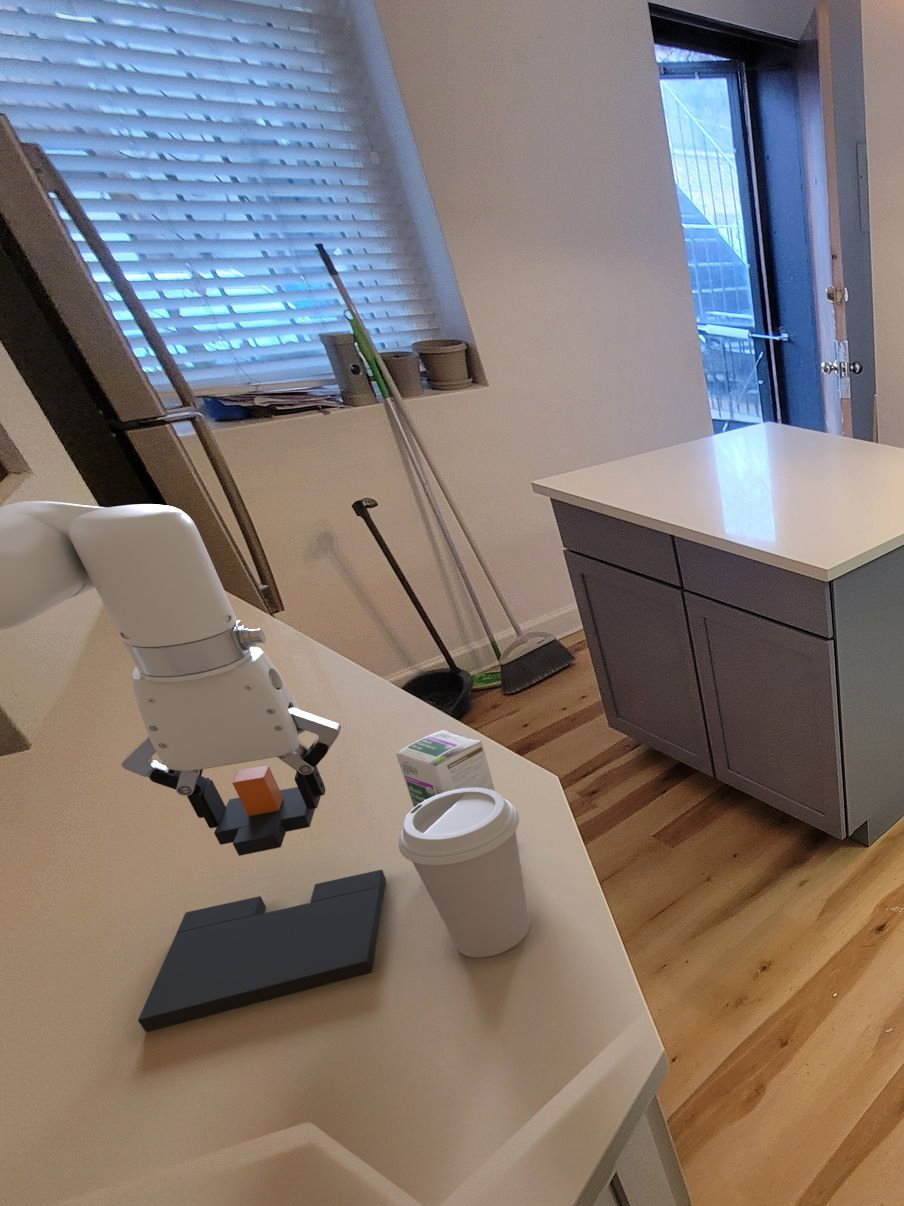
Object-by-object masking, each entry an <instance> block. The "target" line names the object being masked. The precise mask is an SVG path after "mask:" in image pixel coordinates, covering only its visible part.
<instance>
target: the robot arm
mask: <svg viewBox="0 0 904 1206" xmlns="http://www.w3.org/2000/svg"><path fill="white" fill-rule="evenodd" d="M94 589H95V590H96V592H97V594H98V596H99V599H100V600H101V602H102V604H103V606H104V607H105V610H106V612H107V613H108V615H109V617H110V619H111V621H112V623H113V625H114V627H115V628H116V629H115V630H117V633H118V634H119V637H120V639H121V640H122V642H123V644H124V646H125V648H126V649H127V651H128V654H129V656H130V658H131V659H132V661H133V663H134V665H135V666H134V668H133V671H132V673H131V680H132V688H133V691H134V696H135V699H136V702H137V707H138V710H139V713H140V717H141V720H142V722H143V725H144V728H145V730H146V733H147V736H145V738H144V739H143V740H141V742H139V743H138V744H137V746H136V747H134V748H133V750H131V751H130V753H128V754H127V755H126V757H125V758H124V760H123V761H122V762H121V767H122V768H123V769H125V770H127V771H129V772H131V773H134V774H137V775H139V776H141V777H144V778H149V780H150V781H151V782H153V783H155V784H158V785H161V786H163V787H166V788H170V789H172V790H175V791H176V793H177V794H178V795H180V796H182V797H187V799H188V801H189V803H190V805H191V807H192V809H193V810H194V813H195V815H196V816H197V818H198V819H202V818H203V819H204V820H205V823H206V824H207V827H208V828H209V829H216V828H217V825H218V823H219V821H220V819H221V817H222V815H223V813H224V810H225V808H226V806H227V805H226V804H225V803H224V801H223V798H222V796H221V794H220V792H219V791H218V788H217V787H216V785H215V783H214V781H213V780H212V779H210V777H205V776H203V773H204V770H207V769H214V768H219V767H225V766H232V765H237V764H243V763H244V764H245V763H250V762H254V761H255V762H256V761H263V760H267V759H273V758H277V759H279V760H281V761H282V763H284V764H286V765H287V766H289V767H290V768H291V769H293V770H295V771H296V773H295V775H294V782H295V784H296V787H298V789H299V791H300V793H301V795H302V798H303V800H304V802H305V804H306V807H307V808H310V809H315V810H316V809H318V807H319V803H320V800H321V797H322V796H325V795H326V785H325V783H324V781H323V778H322V776H321V774H320V771H319V769H318V767H317V766H318V765H319V764H320V762H321V761H322V760H323V759H324V757H326V755H327V754H328V753H329V750H330V749H331V747H332V746H333V744H334V743H335V741H336V740H337V738H338V737H339V735H340V732H341V729H342V727H341V725H340V724H339V723H338V722H335V721H332V720H329V719H327V718H324V717H320V716H317V715H315V714H313V713H310V712H306V711H304V710H301V709H300V707H299V706H298V704H297V702H296V700H295V698H294V695H293V694H292V692H291V690H290V689H289V686H288V685H287V684H286V682H285V681H284V679H283V677H282V676H281V674H280V672H279V670H278V669H277V668H276V666H275V664H274V663H273V662H272V660H271V659H270V658H269V656H268V655H267V653H265V651H264V650H263V649H262V648H260V647H256V645H260V644H266V635H265V632H264V631H263V629H262V628H256V629H252V628H246V627H245V626H244V625H243V624H242V621H241V620H240V619H239V620H238V619H237V616H236V614H235V612H234V609H233V607H232V605H231V603H230V601H229V598H228V596H227V593H226V591H225V589H224V587H223V584H222V582H221V579H220V577H219V574H218V573H217V571H216V568H215V566H214V563H213V561H212V559H211V557H210V554H209V552H208V550H207V548H206V545H205V543H204V541H203V538H202V536H201V534H200V531H199V529H198V528H197V526H196V523H195V522H194V520H193V519H192V518H191V516H190V515H188V514H187V513H186V512H185V511H183V510H182V509H180V508H177V507H174V506H172V505H171V506H170V505H164V504H154V503H140V504H139V503H138V504H125V505H117V506H109V507H106V506H105V507H104V506H95V505H94V506H93V505H83V504H77V503H76V504H75V503H67V502H59V501H47V500H28V501H27V500H26V501H19V502H14V503H10V504H6V505H3V506H0V631H1V630H7V629H12V628H15V627H17V626H21V625H23V624H25V623H27V622H29V621H32V620H33V619H35V618H37V617H39V616H41V615H42V614H44V613H46V612H48V611H49V610H51V609H52V608H54V607H56V606H58V605H61V604H62V603H63V602H65V601H67V600H69V599H71V598H74V597H76V596H80V595H82V594H85V593H87V592H90V591H91V590H94ZM254 646H255V647H254ZM306 731H307V732H309V733H312V734H314V735H317V738H316V739H315V740H314V741H313V742H312V744H311V745H310V746H307V745H306V744H305V743H304V742H302V741H301V740H299V738H298V737H299V736H300V734H302V733H304V732H306ZM155 754H156V755H157V756H158V758H159V760H160V761H161V762H159V761H158V760H156V759H154V758H153V756H154V755H155Z"/></svg>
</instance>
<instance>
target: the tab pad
mask: <svg viewBox="0 0 904 1206" xmlns="http://www.w3.org/2000/svg"><path fill="white" fill-rule="evenodd" d="M232 785H233V787H234V789H235V792H236V794H237V795H238V797H233V798H230V799H228V802H227V803H226V805H225V806H226V808H225V810H224V813H223V815H222V817H221V819H220V821H219V823H218V825H217V827H216V828H215V830H214V832H213V834H214V836H215V838H216V840H217V841H218V843H219V845H221V846H222V845H227V844H231V843H232V845H233V847H234V849H235V851H236V853H237V855H238V856H239V857H241V856H245V855H250V854H255V853H261V852H266V851H271V850H275V849H279V848H282V846H283V842H284V839H285V836H286V834H287V832H293V831H296V830H303V829H307V828H310V827H311V825H312V821H313V817H314V814H315V811H316V808H315V809H310V808H307V807H306V804H305V802H304V800H303V798H302V795H301V793H300V791H299V789H298V786H296V787H290V788H285V789H280V788H279V784H278V782H277V780H276V779H275V776H274V774H273V772H272V770H271V768H270V765H263V766H256V767H251V768H250V767H249V768H244V769H239V770H237V772H236V774H235V776H234V778H233V780H232Z"/></svg>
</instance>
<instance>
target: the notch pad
mask: <svg viewBox="0 0 904 1206" xmlns="http://www.w3.org/2000/svg"><path fill="white" fill-rule="evenodd" d="M386 884H387V879H386V875H385V873H384V870H383V869H378V870H374V871H373V870H372V871H369V872H364V873H359V874H355V875H350V876H347V877H346V876H345V877H341V878H337V879H331V880H327V881H323V882H319V883H315V884H314V887H313V890H312V894H311V897H310V898H311V899H310V901H309V902H308V903H302V904H298V905H294V906H290V907H285V908H281V909H277V910H273V911H268V912H265V911H266V908H267V906H266V903H265V902H264V900H263V898H262V896H261V895H258V896H254V897H249V898H245V899H241V900H236V901H232V902H227V903H221V904H217V905H214V906H209V907H205V908H200V909H194V910H190V911H186V912H184V915H183V918H182V919H181V922H180V923H179V926H178V928H177V931H176V933H175V936H174V937H173V940H172V941H171V945H170V947H169V949H168V951H167V954H166V956H165V958H164V960H163V963H162V965H161V967H160V970H159V972H158V973H157V976H156V978H155V981H154V983H153V985H152V987H151V990H150V992H149V994H148V996H147V999H146V1001H145V1003H144V1006H143V1008H142V1010H141V1012H140V1014H139V1017H138V1019H137V1022H138V1023H139V1025H140V1026H141V1028H142V1029H143V1030H144V1032H146V1033H147V1032H151V1031H154V1030H158V1029H162V1028H166V1027H170V1026H173V1025H177V1024H180V1023H186V1022H188V1021H192V1020H196V1019H200V1018H203V1017H208V1016H211V1015H215V1014H218V1013H219V1014H220V1013H223V1012H227V1011H230V1010H234V1009H237V1008H242V1007H246V1006H249V1005H253V1004H257V1003H260V1002H264V1001H267V1000H272V999H276V998H279V997H282V996H287V995H291V994H295V993H297V992H302V991H305V990H310V989H313V988H317V987H321V986H324V985H328V984H329V985H330V984H333V983H336V982H339V981H343V980H347V979H350V978H354V977H359V976H363V975H366V974H370V973H373V967H374V961H375V955H376V948H377V942H378V935H379V929H380V922H381V917H382V916H381V915H382V909H383V902H384V897H385V891H386Z"/></svg>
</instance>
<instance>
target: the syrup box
mask: <svg viewBox="0 0 904 1206" xmlns="http://www.w3.org/2000/svg"><path fill="white" fill-rule="evenodd" d="M395 754H396V757H397V761H398V764H399V767H400V770H401V773H402V776H403V778H404V782H405V785H406V788H407V791H408V794H409V797H410V800H411V803H412V806H413V808H414V807H415V806H417V805H418V804H420V803H421V802H423V801H425V800H427V799H429V798H431V797H433V796H435V795H438V794H441V793H444V792H447V791H451V790H456V789H462V788H485V789H490V790H493V791H495V792H496V789H495V786H494V785H495V784H494V781H493V778H492V775H491V770H490V767H489V764H488V763H489V762H488V760H487V755H486V752H485V748H484V744H483V741H482V740H479V739H474V738H470V737H467V736H464V735H461V734H458V733H454V732H452V731H448V730H445V729H442V730H438V731H436V732H434V733H431V734H428V735H426V736H424V737H422V738H419V739H418V740H415V741H414V742H412V743H410V744H408V745H407V746H405V747H403V748H401V749H400V750H399V751H397V752H396V753H395Z"/></svg>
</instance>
